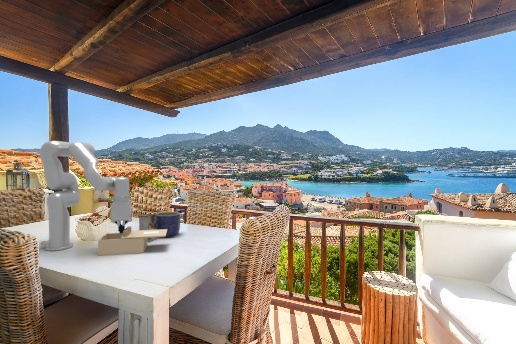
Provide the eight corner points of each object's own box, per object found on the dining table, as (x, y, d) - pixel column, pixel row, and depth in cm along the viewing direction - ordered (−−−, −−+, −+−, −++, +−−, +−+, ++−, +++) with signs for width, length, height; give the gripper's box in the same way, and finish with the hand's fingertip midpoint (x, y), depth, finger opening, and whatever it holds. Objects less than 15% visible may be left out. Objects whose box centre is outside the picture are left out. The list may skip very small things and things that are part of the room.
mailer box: (98, 255, 143) (98, 240, 142) (106, 247, 157) (106, 233, 157) (143, 252, 148) (143, 238, 148) (147, 245, 163) (147, 231, 162)
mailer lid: (120, 238, 145) (120, 231, 145) (126, 231, 160) (126, 225, 160) (165, 236, 151) (165, 230, 150) (167, 230, 165) (167, 224, 165)
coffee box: (147, 238, 178) (147, 213, 177) (156, 238, 176) (156, 214, 176) (138, 242, 169) (138, 216, 168) (148, 242, 167) (148, 216, 167)
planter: (170, 239, 174) (170, 216, 174) (148, 237, 180) (148, 214, 179) (184, 233, 190) (185, 212, 190) (164, 231, 195) (165, 210, 195)
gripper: (104, 200, 146) (104, 235, 146) (134, 200, 150) (134, 233, 150) (108, 199, 153) (108, 231, 154) (137, 198, 157) (137, 230, 157)
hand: (121, 232), depth 152 cm, fingers closed
